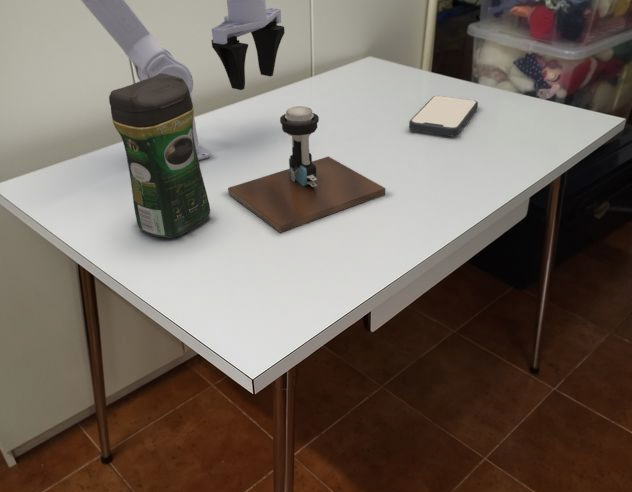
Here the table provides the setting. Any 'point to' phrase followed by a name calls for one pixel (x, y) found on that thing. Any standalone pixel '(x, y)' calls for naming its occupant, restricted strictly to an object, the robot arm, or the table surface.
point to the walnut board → (305, 194)
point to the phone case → (443, 115)
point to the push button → (300, 143)
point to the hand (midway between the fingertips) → (252, 81)
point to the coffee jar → (161, 154)
